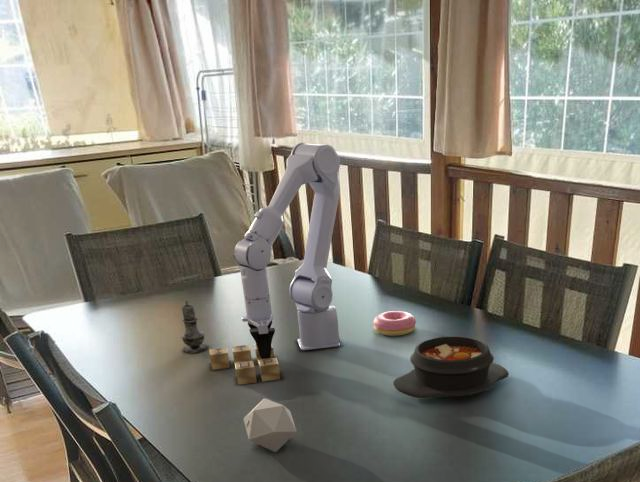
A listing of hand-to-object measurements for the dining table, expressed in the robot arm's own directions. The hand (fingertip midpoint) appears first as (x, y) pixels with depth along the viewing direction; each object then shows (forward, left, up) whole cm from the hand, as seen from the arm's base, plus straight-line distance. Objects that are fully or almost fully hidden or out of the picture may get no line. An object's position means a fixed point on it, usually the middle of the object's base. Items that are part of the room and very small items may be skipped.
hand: (264, 354), depth 161 cm
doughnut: (-34, -10, -2) cm, 35 cm away
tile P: (0, +11, -1) cm, 11 cm away
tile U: (+5, +11, -1) cm, 12 cm away
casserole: (-36, +29, -2) cm, 46 cm away
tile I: (+10, 0, -1) cm, 10 cm away
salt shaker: (+16, -14, -2) cm, 21 cm away
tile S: (0, 0, -1) cm, 1 cm away
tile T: (+5, 0, -1) cm, 5 cm away
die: (+3, +44, -2) cm, 44 cm away
